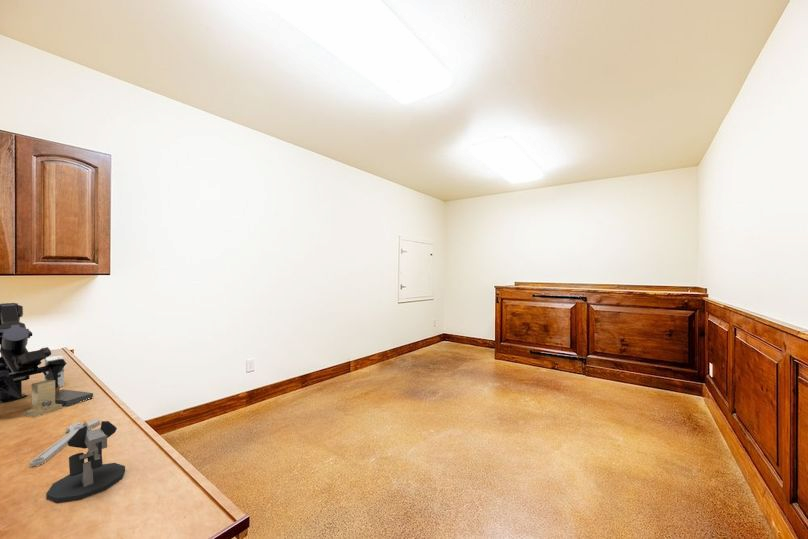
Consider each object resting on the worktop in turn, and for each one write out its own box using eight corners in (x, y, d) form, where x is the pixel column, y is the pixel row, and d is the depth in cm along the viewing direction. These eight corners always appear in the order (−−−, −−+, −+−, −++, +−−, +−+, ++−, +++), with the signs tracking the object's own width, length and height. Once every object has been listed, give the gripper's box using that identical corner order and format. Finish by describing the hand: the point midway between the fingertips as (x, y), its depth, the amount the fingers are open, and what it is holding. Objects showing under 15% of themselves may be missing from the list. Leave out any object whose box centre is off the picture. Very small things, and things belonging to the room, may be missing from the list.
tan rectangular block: (24, 415, 110) (24, 384, 110) (51, 407, 117) (51, 378, 117) (34, 417, 109) (34, 386, 109) (61, 408, 115) (61, 379, 115)
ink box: (44, 385, 140) (43, 357, 140) (61, 382, 144) (60, 354, 144) (47, 390, 134) (47, 360, 135) (64, 386, 138) (64, 357, 139)
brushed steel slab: (35, 402, 121) (35, 388, 121) (63, 394, 129) (63, 381, 129) (66, 406, 117) (66, 392, 117) (93, 398, 125) (92, 384, 125)
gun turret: (112, 451, 87) (112, 401, 87) (132, 481, 74) (132, 422, 74) (40, 474, 77) (40, 418, 77) (49, 514, 64) (49, 446, 65)
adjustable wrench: (41, 468, 81) (41, 460, 81) (7, 473, 79) (6, 465, 79) (103, 422, 105) (103, 417, 105) (77, 425, 103) (77, 419, 103)
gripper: (-11, 347, 106) (12, 386, 103) (62, 336, 124) (84, 369, 121) (-27, 371, 108) (-5, 409, 105) (48, 356, 126) (68, 388, 123)
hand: (39, 392), depth 114 cm, fingers open, 9 cm apart
